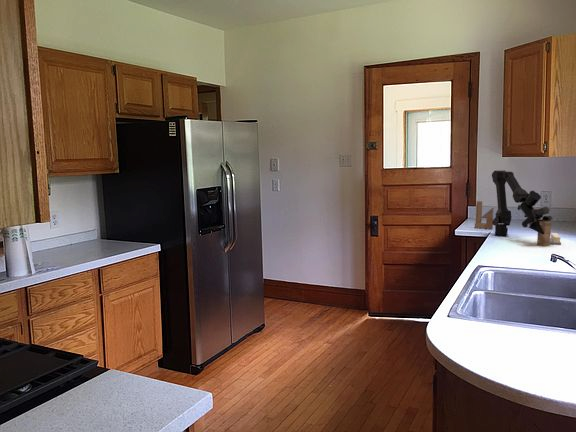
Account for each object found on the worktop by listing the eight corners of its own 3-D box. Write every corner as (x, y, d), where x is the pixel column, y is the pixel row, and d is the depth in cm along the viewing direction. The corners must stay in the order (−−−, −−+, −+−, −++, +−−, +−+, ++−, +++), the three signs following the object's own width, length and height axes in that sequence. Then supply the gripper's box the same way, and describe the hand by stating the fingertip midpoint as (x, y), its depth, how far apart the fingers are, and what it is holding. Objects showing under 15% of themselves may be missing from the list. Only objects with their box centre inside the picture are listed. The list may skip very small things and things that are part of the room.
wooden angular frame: (491, 229, 324) (492, 202, 322) (474, 228, 330) (475, 201, 328) (492, 229, 327) (494, 201, 325) (475, 227, 333) (477, 200, 331)
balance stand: (540, 243, 274) (540, 236, 274) (538, 239, 289) (538, 232, 289) (561, 244, 271) (561, 237, 270) (557, 240, 285) (557, 233, 285)
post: (537, 245, 270) (538, 221, 269) (542, 244, 272) (543, 220, 271) (544, 246, 267) (546, 222, 265) (549, 245, 269) (551, 221, 267)
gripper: (528, 202, 266) (545, 225, 257) (550, 201, 274) (568, 223, 266) (514, 215, 274) (531, 238, 265) (536, 213, 282) (553, 235, 274)
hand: (546, 233), depth 267 cm, fingers closed on post, 4 cm apart
